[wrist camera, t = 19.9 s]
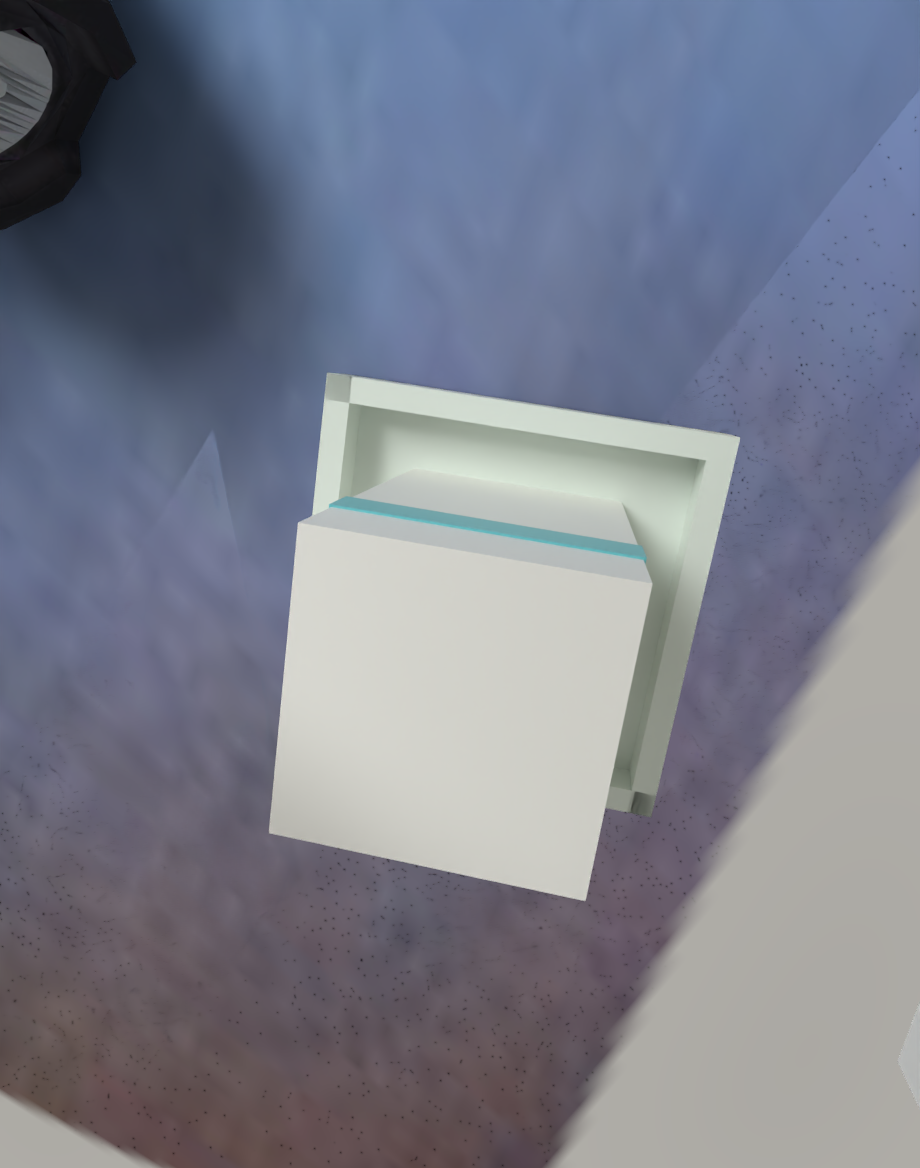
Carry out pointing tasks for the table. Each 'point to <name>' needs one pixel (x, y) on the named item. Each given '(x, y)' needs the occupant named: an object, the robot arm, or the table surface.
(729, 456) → the tray
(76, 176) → the portable speaker
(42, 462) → the table surface
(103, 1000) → the table surface
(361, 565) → the block
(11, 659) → the table surface
